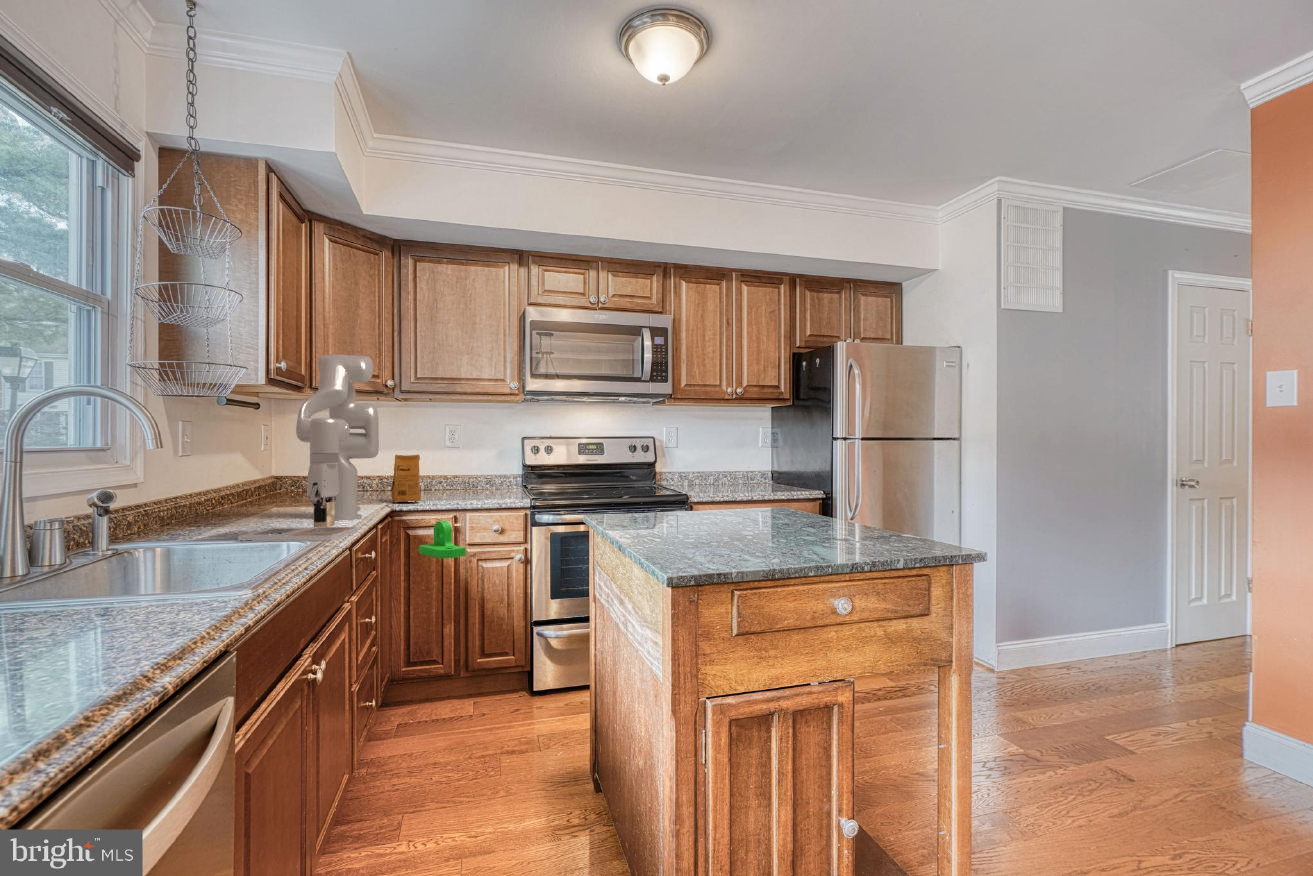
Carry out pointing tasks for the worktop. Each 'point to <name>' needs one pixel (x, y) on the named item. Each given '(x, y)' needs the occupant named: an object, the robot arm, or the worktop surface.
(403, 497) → the coffee package
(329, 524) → the wooden cube
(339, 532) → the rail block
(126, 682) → the worktop surface
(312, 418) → the robot arm
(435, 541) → the mechanical part
